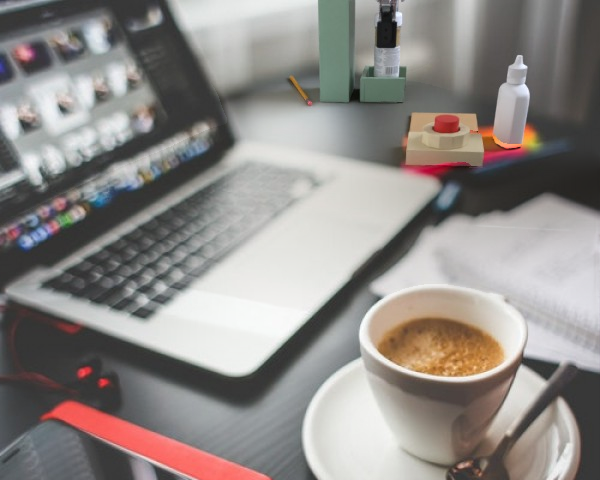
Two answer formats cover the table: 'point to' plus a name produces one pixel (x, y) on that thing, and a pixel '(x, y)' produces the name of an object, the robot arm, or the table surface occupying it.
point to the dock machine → (348, 59)
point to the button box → (444, 147)
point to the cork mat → (424, 118)
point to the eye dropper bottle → (512, 105)
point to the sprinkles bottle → (387, 53)
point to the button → (446, 124)
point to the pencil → (301, 91)
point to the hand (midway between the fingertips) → (387, 42)
